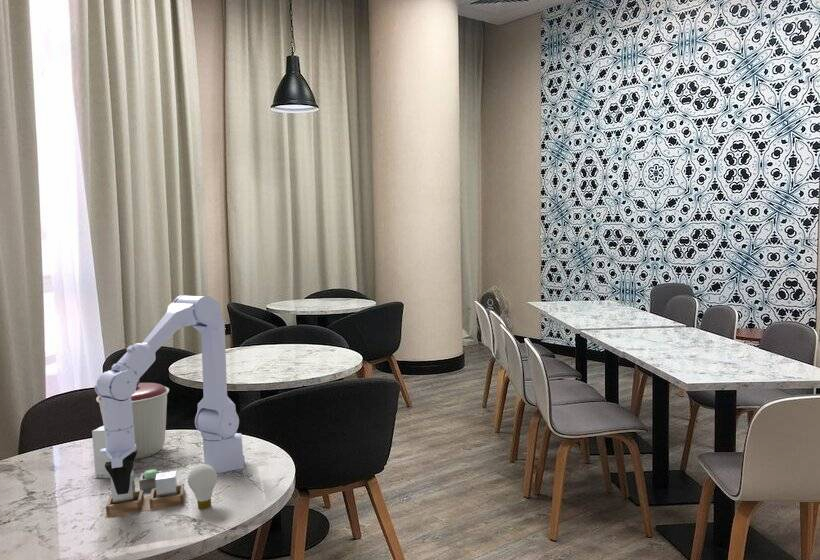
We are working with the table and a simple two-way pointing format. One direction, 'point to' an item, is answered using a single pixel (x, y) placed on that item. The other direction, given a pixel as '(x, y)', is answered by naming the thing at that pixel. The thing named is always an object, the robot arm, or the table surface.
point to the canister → (148, 417)
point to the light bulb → (202, 484)
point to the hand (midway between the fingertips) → (124, 489)
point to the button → (150, 473)
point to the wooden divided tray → (145, 502)
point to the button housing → (147, 482)
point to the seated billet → (166, 484)
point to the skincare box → (99, 458)
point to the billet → (124, 496)
